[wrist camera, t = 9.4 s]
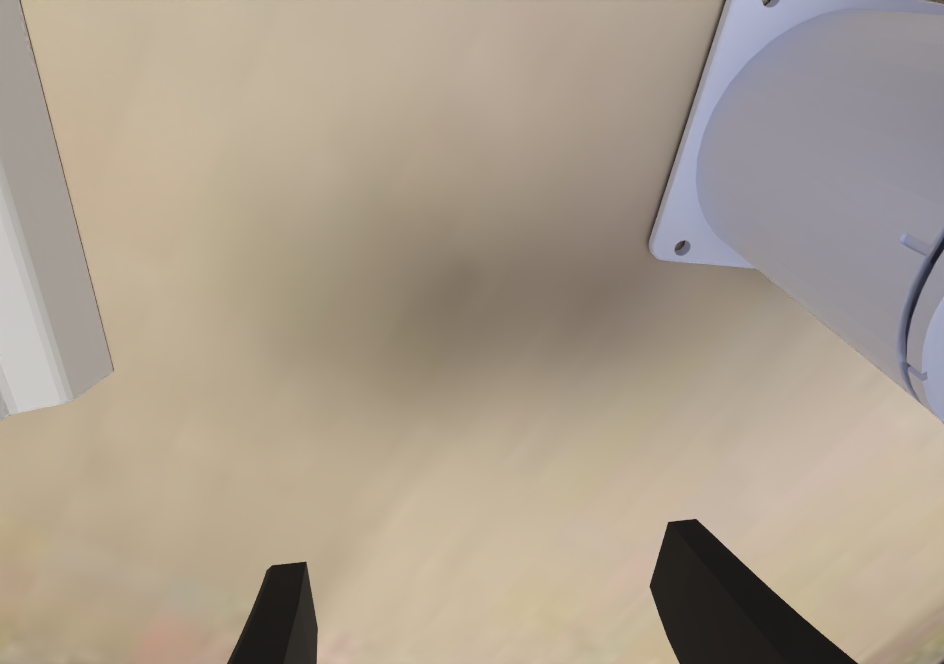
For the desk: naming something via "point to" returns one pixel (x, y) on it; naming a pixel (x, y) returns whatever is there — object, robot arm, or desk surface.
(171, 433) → the desk surface
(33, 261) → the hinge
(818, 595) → the desk surface
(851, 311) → the robot arm
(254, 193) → the desk surface
